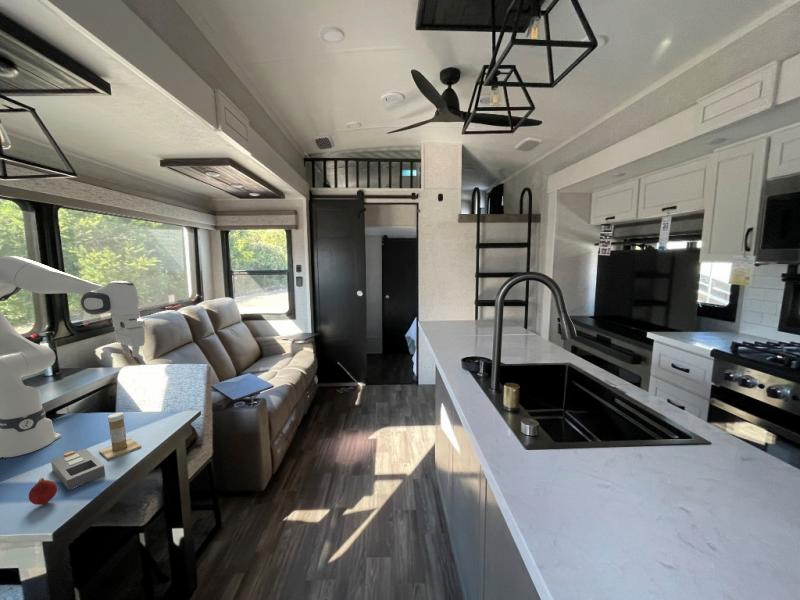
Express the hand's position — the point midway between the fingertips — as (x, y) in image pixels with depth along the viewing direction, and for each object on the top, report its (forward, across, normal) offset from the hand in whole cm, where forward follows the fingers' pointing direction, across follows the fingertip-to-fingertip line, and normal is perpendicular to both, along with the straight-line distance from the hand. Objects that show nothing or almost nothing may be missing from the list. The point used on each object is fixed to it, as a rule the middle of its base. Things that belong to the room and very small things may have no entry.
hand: (131, 355), depth 135 cm
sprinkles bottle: (+34, +7, -9) cm, 35 cm away
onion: (+34, +24, -32) cm, 53 cm away
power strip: (+34, +9, -22) cm, 42 cm away
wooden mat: (+34, +7, -9) cm, 36 cm away
